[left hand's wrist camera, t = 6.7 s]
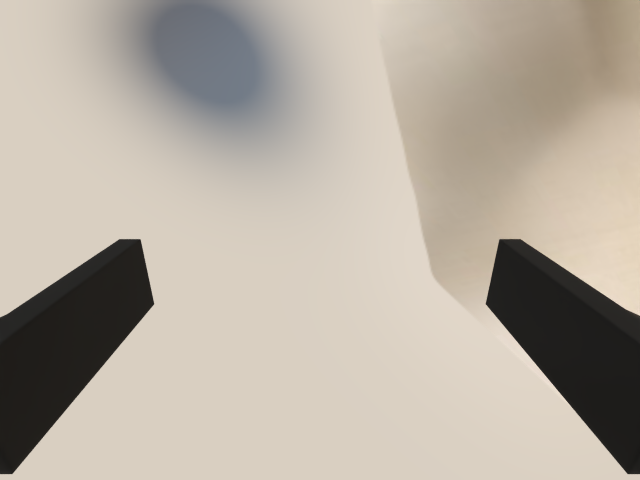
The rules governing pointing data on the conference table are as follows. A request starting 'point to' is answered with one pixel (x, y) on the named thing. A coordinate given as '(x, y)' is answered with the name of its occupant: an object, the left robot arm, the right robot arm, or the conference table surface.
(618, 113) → the conference table surface
